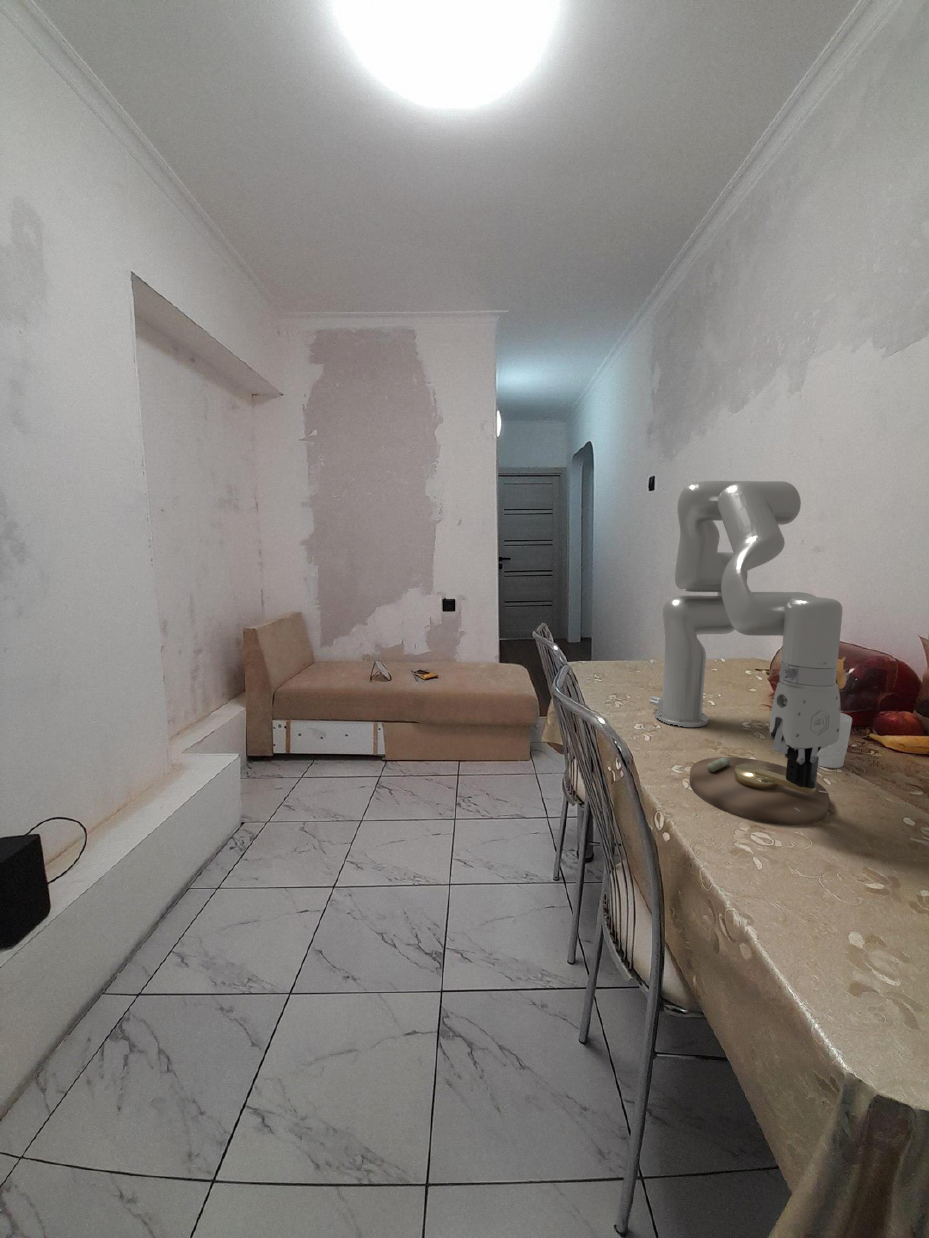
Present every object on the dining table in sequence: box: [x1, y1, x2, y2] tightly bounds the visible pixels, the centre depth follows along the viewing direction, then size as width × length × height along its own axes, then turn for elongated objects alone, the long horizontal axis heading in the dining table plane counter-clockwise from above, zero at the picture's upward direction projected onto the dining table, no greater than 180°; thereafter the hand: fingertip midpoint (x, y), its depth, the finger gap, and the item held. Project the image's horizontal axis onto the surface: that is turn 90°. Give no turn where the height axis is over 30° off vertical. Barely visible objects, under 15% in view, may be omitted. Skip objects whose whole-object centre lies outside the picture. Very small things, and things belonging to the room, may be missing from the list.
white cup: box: [817, 712, 853, 769], centre depth 108 cm, size 8×8×10 cm
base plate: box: [689, 756, 830, 825], centre depth 96 cm, size 22×22×4 cm
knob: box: [734, 756, 819, 795], centre depth 93 cm, size 13×7×7 cm, turn 41°
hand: (797, 782), depth 87 cm, fingers closed
